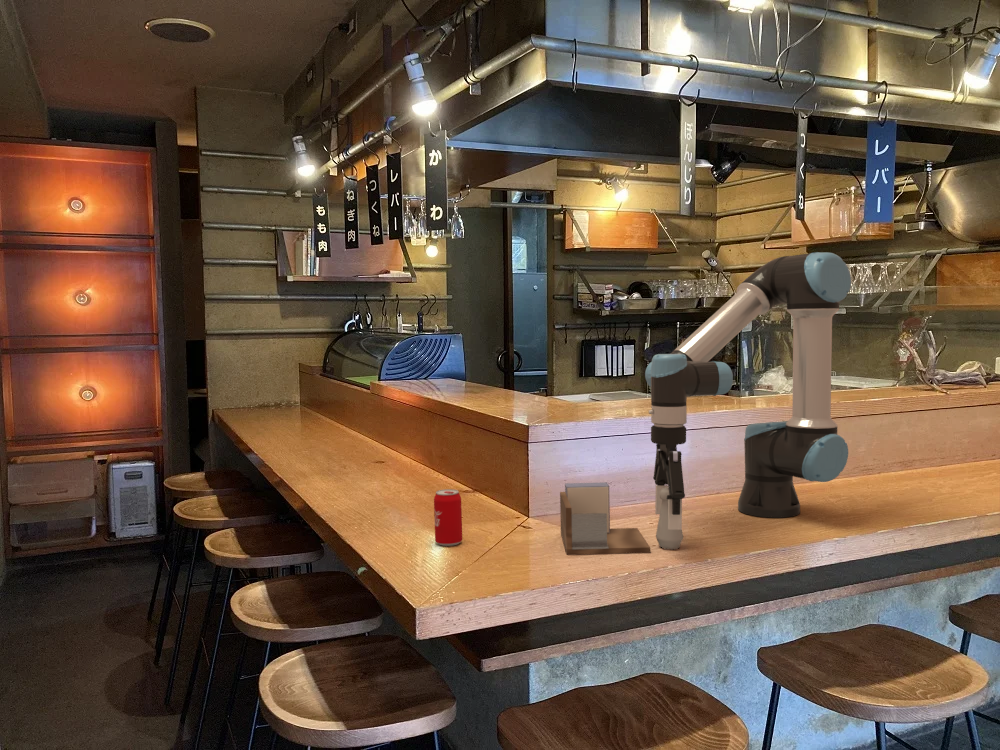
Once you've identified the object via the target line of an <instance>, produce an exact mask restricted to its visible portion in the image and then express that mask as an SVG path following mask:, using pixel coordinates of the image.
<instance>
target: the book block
mask: <svg viewBox="0 0 1000 750" xmlns="http://www.w3.org/2000/svg"><path fill="white" fill-rule="evenodd" d="M564 492H565V493H566V495H567V498H568V500H569V503H570V505H571V511H572V514H577V513H606V514H607V533H610V529H611V524H610V522H611V515H610V511H611V509H610V506H611V505H610V503H611V501H610V484H609V483H608V481H607V482H605V481H603V482H572V483H571V482H568V483H564Z"/></svg>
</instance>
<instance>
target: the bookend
mask: <svg viewBox="0 0 1000 750" xmlns="http://www.w3.org/2000/svg"><path fill="white" fill-rule="evenodd" d="M572 549H609V547H608V545H607V514H606V513H577V514H572Z"/></svg>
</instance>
